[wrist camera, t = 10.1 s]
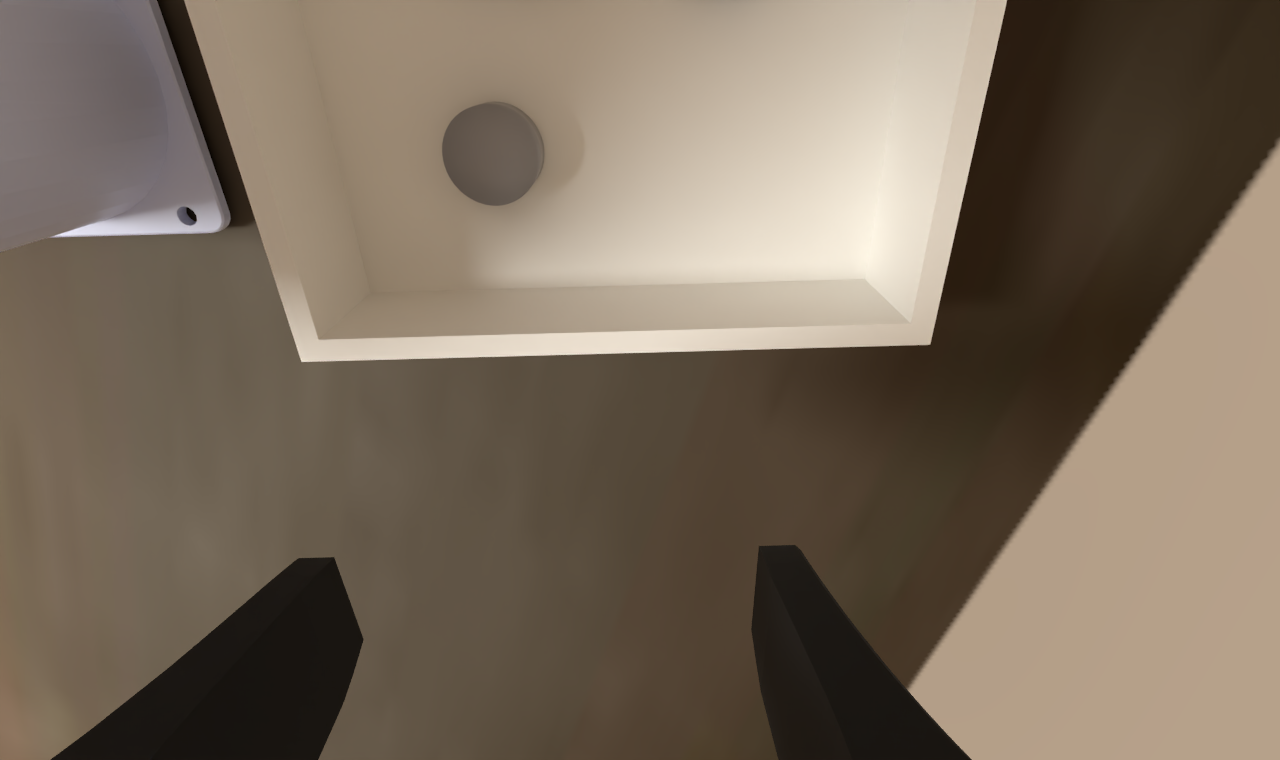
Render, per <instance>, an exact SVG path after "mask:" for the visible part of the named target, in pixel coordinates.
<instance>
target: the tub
mask: <svg viewBox="0 0 1280 760" xmlns="http://www.w3.org/2000/svg"><path fill="white" fill-rule="evenodd" d="M184 2H185V5H186V8H187V11H188V14H189V17H190V20H191V23H192V26H193V29H194V32H195V36H196V39H197V42H198V45H199V48H200V51H201V54H202V57H203V60H204V63H205V66H206V69H207V72H208V76H209V79H210V82H211V85H212V88H213V91H214V94H215V97H216V100H217V103H218V106H219V109H220V112H221V116H222V119H223V122H224V125H225V128H226V131H227V134H228V137H229V140H230V143H231V146H232V149H233V152H234V156H235V159H236V162H237V165H238V168H239V171H240V174H241V177H242V180H243V183H244V186H245V189H246V192H247V196H248V199H249V202H250V205H251V208H252V211H253V214H254V217H255V220H256V223H257V226H258V229H259V232H260V236H261V239H262V242H263V245H264V248H265V251H266V254H267V257H268V260H269V263H270V266H271V269H272V272H273V276H274V279H275V282H276V285H277V288H278V291H279V294H280V297H281V300H282V303H283V306H284V309H285V312H286V316H287V319H288V322H289V325H290V328H291V331H292V334H293V337H294V340H295V343H296V346H297V349H298V352H299V356H300V359H301V362H315V361H352V360H389V359H425V358H462V357H499V356H535V355H572V354H609V353H645V352H682V351H719V350H755V349H792V348H829V347H865V346H902V345H930V343H931V339H932V334H933V330H934V325H935V321H936V316H937V312H938V307H939V303H940V299H941V294H942V290H943V285H944V281H945V276H946V272H947V267H948V263H949V258H950V254H951V249H952V245H953V240H954V236H955V231H956V227H957V222H958V218H959V213H960V209H961V205H962V200H963V196H964V191H965V187H966V182H967V178H968V173H969V169H970V164H971V160H972V155H973V151H974V146H975V142H976V137H977V133H978V128H979V124H980V119H981V115H982V111H983V106H984V102H985V97H986V93H987V88H988V84H989V79H990V75H991V70H992V66H993V61H994V57H995V52H996V48H997V43H998V39H999V34H1000V30H1001V25H1002V21H1003V17H1004V12H1005V8H1006V3H1007V0H184Z"/></svg>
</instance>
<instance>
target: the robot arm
mask: <svg viewBox="0 0 1280 760" xmlns="http://www.w3.org/2000/svg"><path fill="white" fill-rule="evenodd" d="M187 207H188V208H190V209H191V210H193V211H194V213H195V214H196V216H197V222H196V221H193V220H192V219H191V218H189V216H188V215H187V212H186V208H187ZM230 220H231V217H230V212H229V209H228V206H227V203H226V200H225V197H224V194H223V191H222V188H221V185H220V182H219V180H218V177H217V174H216V171H215V168H214V165H213V162H212V159H211V156H210V153H209V150H208V147H207V145H206V142H205V139H204V136H203V133H202V130H201V127H200V124H199V121H198V118H197V115H196V112H195V110H194V107H193V104H192V101H191V98H190V95H189V92H188V89H187V86H186V83H185V80H184V77H183V75H182V72H181V69H180V66H179V63H178V60H177V57H176V54H175V51H174V48H173V45H172V42H171V40H170V37H169V34H168V31H167V28H166V25H165V22H164V19H163V16H162V13H161V10H160V8H159V5H158V2H157V0H0V252H3V251H6V250H10V249H13V248H16V247H19V246H23V245H26V244H29V243H32V242H35V241H39V240H42V239H45V238H48V237H83V236H119V235H155V234H191V233H214V232H218V231H221V230H223V229H225V228H226V227H227V226H228V225H229V223H230ZM751 630H752V636H753V643H754V650H755V657H756V663H757V670H758V676H759V682H760V688H761V693H762V697H763V701H764V705H765V709H766V713H767V717H768V721H769V725H770V728H771V732H772V736H773V740H774V744H775V748H776V752H777V755H778V759H779V760H971V759H970V758H969V756H968V755H967V754H965V753H964V751H963V750H961V748H960V747H959V746H958V745H957V744H956V743H955V742H954V741H953V740H952V739H951V738H950V737H949V736H948V735H947V734H946V733H945V732H944V730H943V729H942V728H941V727H940V726H939V725H938V724H937V723H936V722H935V721H934V720H933V719H932V717H931V716H930V715H929V714H928V713H927V712H926V711H925V710H924V709H923V708H922V706H921V705H920V704H919V703H918V702H917V701H916V700H915V698H914V697H913V696H912V695H911V694H910V693H909V691H908V690H907V689H906V688H905V687H904V686H903V685H902V684H901V682H900V681H899V680H898V679H897V678H896V676H895V675H894V674H893V673H892V672H891V670H890V669H889V668H888V667H887V666H886V664H885V663H884V662H883V661H882V660H881V658H880V657H879V656H878V655H877V653H876V652H875V651H874V650H873V648H872V647H871V646H870V645H869V643H868V642H867V641H866V640H865V638H864V637H863V636H862V635H861V633H860V632H859V631H858V630H857V628H856V627H855V626H854V624H853V623H852V622H851V620H850V619H849V618H848V617H847V615H846V614H845V613H844V611H843V610H842V608H841V607H840V606H839V604H838V603H837V602H836V600H835V599H834V598H833V596H832V595H831V594H830V592H829V591H828V589H827V588H826V587H825V585H824V584H823V582H822V581H821V579H820V578H819V577H818V575H817V574H816V572H815V571H814V569H813V568H812V566H811V565H810V563H809V562H808V560H807V559H806V557H805V556H804V554H803V553H802V551H801V550H800V549H799V548H798V547H797V546H796V545H782V546H759V552H758V563H757V574H756V585H755V596H754V607H753V618H752V629H751ZM362 643H363V637H362V634H361V631H360V628H359V626H358V623H357V620H356V617H355V614H354V612H353V609H352V606H351V603H350V600H349V598H348V595H347V592H346V589H345V587H344V584H343V581H342V578H341V575H340V573H339V570H338V567H337V564H336V561H335V559H334V557H331V558H298V559H297V560H296V561H294V562H293V563H292V564H291V565H289V566H288V567H287V568H286V569H285V570H283V571H282V572H281V573H280V574H279V575H277V576H276V577H275V578H274V579H273V580H271V581H270V582H269V583H268V584H267V585H266V586H264V587H263V588H262V589H261V590H260V591H259V592H257V593H256V594H255V595H254V596H253V597H252V598H250V599H249V600H248V601H247V602H246V603H245V604H243V605H242V606H241V607H240V608H239V609H238V610H236V611H235V612H234V613H233V614H232V615H231V616H229V617H228V618H227V619H226V620H225V621H224V622H222V623H221V624H220V625H219V626H218V627H217V628H215V629H214V630H213V631H212V632H211V633H209V634H208V635H207V636H206V637H205V638H204V639H202V640H201V641H200V642H199V643H198V644H196V645H195V646H194V647H193V648H192V649H191V650H189V651H188V652H187V653H186V654H185V655H183V656H182V657H181V658H180V659H179V660H178V661H176V662H175V663H174V664H173V665H172V666H170V667H169V668H168V669H167V670H165V671H164V672H163V673H162V674H160V675H159V676H158V677H157V678H155V679H154V680H153V681H152V682H150V683H149V684H148V685H147V686H145V687H144V688H143V689H142V690H140V691H139V692H138V693H136V694H135V695H134V696H133V697H131V698H130V699H129V700H128V701H126V702H125V703H124V704H123V705H121V706H120V707H119V708H118V709H116V710H115V711H114V712H113V713H111V714H110V715H109V716H108V717H106V718H105V719H104V720H103V721H101V722H100V723H99V724H97V725H96V726H95V727H94V728H92V729H91V730H90V731H88V732H87V733H86V734H84V735H83V736H82V737H80V738H79V739H78V740H77V741H75V742H74V743H73V744H71V745H70V746H68V747H67V748H66V749H64V750H63V751H62V752H60V753H59V754H58V755H56V756H55V757H54V758H52V759H51V760H318V759H319V756H320V754H321V752H322V750H323V748H324V745H325V743H326V741H327V739H328V736H329V734H330V732H331V730H332V727H333V725H334V723H335V721H336V719H337V716H338V714H339V712H340V709H341V707H342V705H343V702H344V700H345V697H346V694H347V691H348V688H349V685H350V682H351V679H352V676H353V673H354V669H355V666H356V663H357V659H358V656H359V653H360V649H361V646H362Z"/></svg>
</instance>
